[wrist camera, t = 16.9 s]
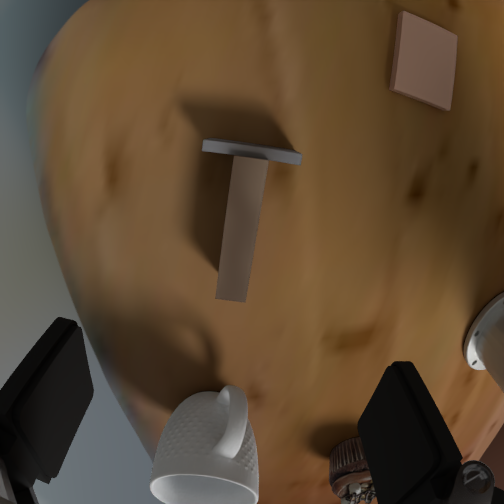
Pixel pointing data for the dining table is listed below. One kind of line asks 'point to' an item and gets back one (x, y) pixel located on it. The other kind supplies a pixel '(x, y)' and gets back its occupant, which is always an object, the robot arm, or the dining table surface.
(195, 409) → the mug
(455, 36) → the tile
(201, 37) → the dining table surface
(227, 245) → the scraper
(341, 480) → the cupcake
